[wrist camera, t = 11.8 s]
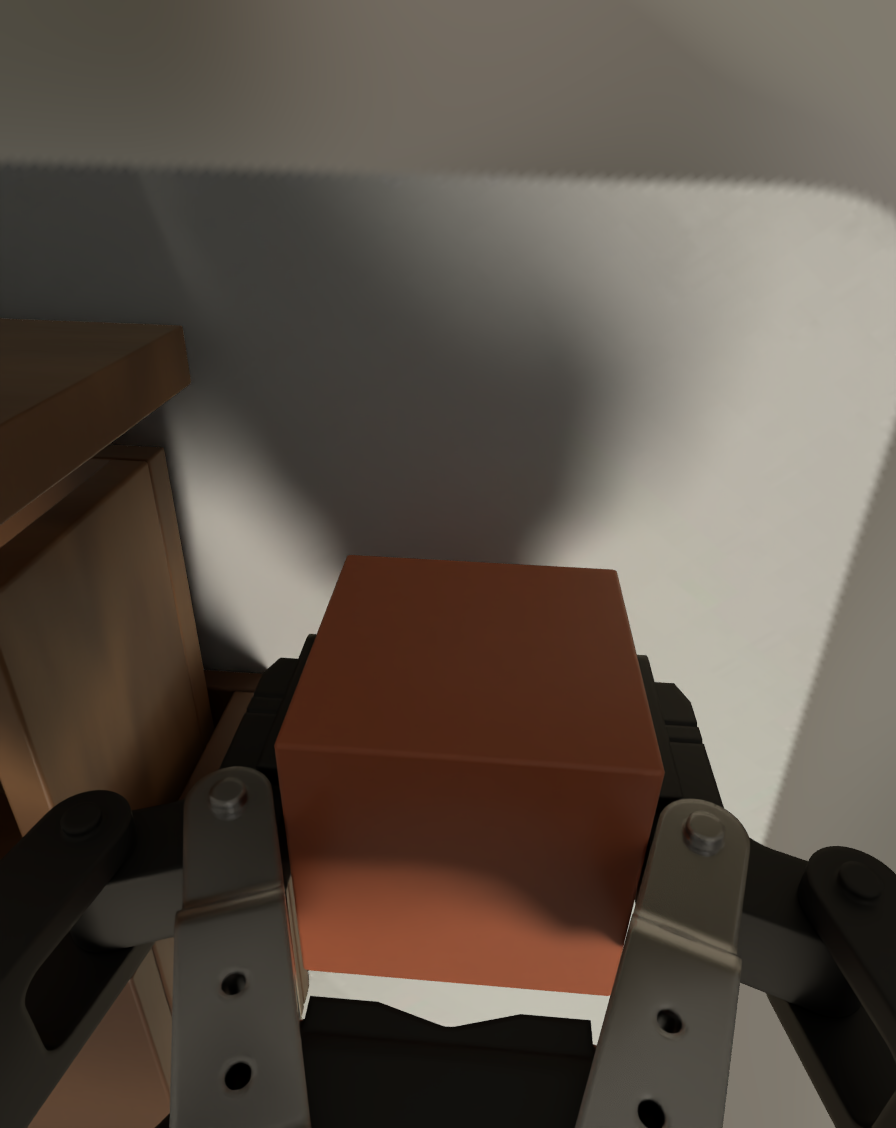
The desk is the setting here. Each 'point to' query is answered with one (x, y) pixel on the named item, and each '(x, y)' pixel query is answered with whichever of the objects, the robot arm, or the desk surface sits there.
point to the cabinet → (150, 989)
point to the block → (469, 775)
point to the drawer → (91, 574)
